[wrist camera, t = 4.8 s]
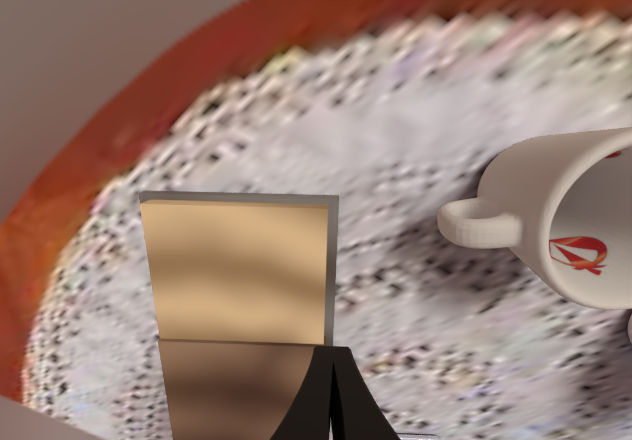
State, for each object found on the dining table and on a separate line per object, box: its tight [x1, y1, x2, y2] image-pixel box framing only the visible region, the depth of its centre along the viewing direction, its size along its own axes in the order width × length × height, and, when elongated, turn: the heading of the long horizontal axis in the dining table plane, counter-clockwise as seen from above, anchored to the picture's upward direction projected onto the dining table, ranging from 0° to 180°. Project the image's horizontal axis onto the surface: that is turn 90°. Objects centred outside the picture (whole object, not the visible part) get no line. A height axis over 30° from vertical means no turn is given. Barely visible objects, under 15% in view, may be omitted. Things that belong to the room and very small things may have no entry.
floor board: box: [139, 191, 339, 440], centre depth 23 cm, size 21×13×2 cm, turn 179°
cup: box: [437, 127, 632, 310], centre depth 17 cm, size 11×8×8 cm
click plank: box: [140, 200, 328, 344], centre depth 21 cm, size 10×12×1 cm
